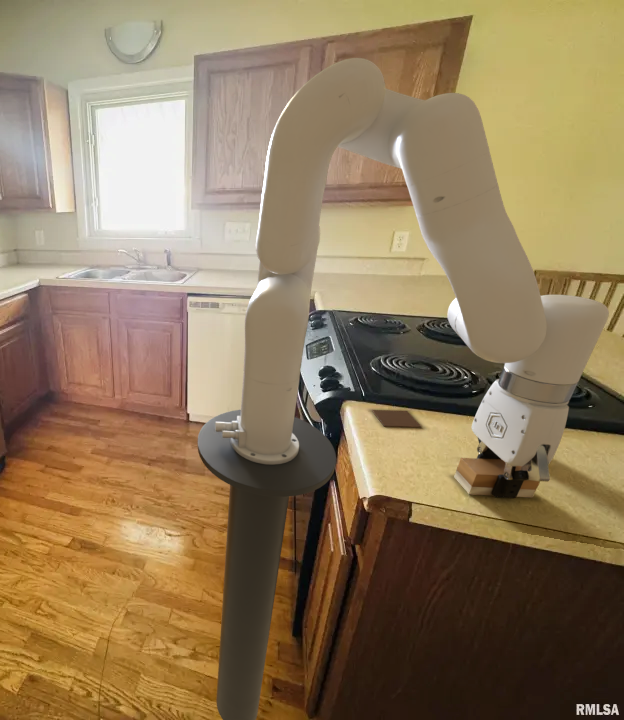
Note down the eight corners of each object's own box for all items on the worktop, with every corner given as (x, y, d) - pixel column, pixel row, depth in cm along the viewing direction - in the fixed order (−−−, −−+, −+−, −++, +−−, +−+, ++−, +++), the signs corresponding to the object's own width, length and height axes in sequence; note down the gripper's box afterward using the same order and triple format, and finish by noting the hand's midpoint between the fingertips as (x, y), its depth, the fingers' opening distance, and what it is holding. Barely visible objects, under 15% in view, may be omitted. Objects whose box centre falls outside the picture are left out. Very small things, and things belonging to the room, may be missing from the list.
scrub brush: (468, 494, 62) (476, 474, 60) (453, 477, 65) (460, 457, 64) (532, 497, 60) (542, 477, 59) (513, 479, 64) (522, 460, 62)
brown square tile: (383, 426, 79) (384, 425, 79) (371, 410, 84) (371, 409, 84) (421, 427, 78) (421, 426, 78) (406, 411, 83) (407, 410, 83)
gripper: (468, 359, 63) (437, 451, 71) (554, 416, 48) (503, 525, 56) (520, 359, 62) (483, 453, 70) (624, 417, 47) (563, 529, 55)
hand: (492, 484), depth 63 cm, fingers closed on scrub brush, 4 cm apart
